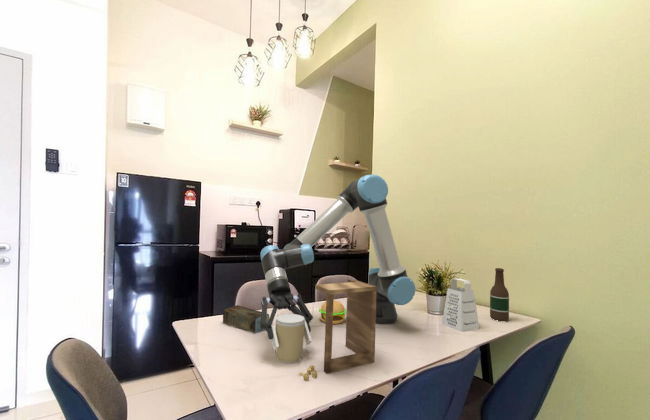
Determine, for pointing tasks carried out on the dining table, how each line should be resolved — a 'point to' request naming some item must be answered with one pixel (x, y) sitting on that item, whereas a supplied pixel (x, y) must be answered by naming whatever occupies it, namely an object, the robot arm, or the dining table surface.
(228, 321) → the beverage carton
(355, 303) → the shelf alcove
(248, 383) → the dining table surface
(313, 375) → the dice set
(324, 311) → the hamburger
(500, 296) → the beer bottle
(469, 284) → the grater
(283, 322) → the coffee cup
